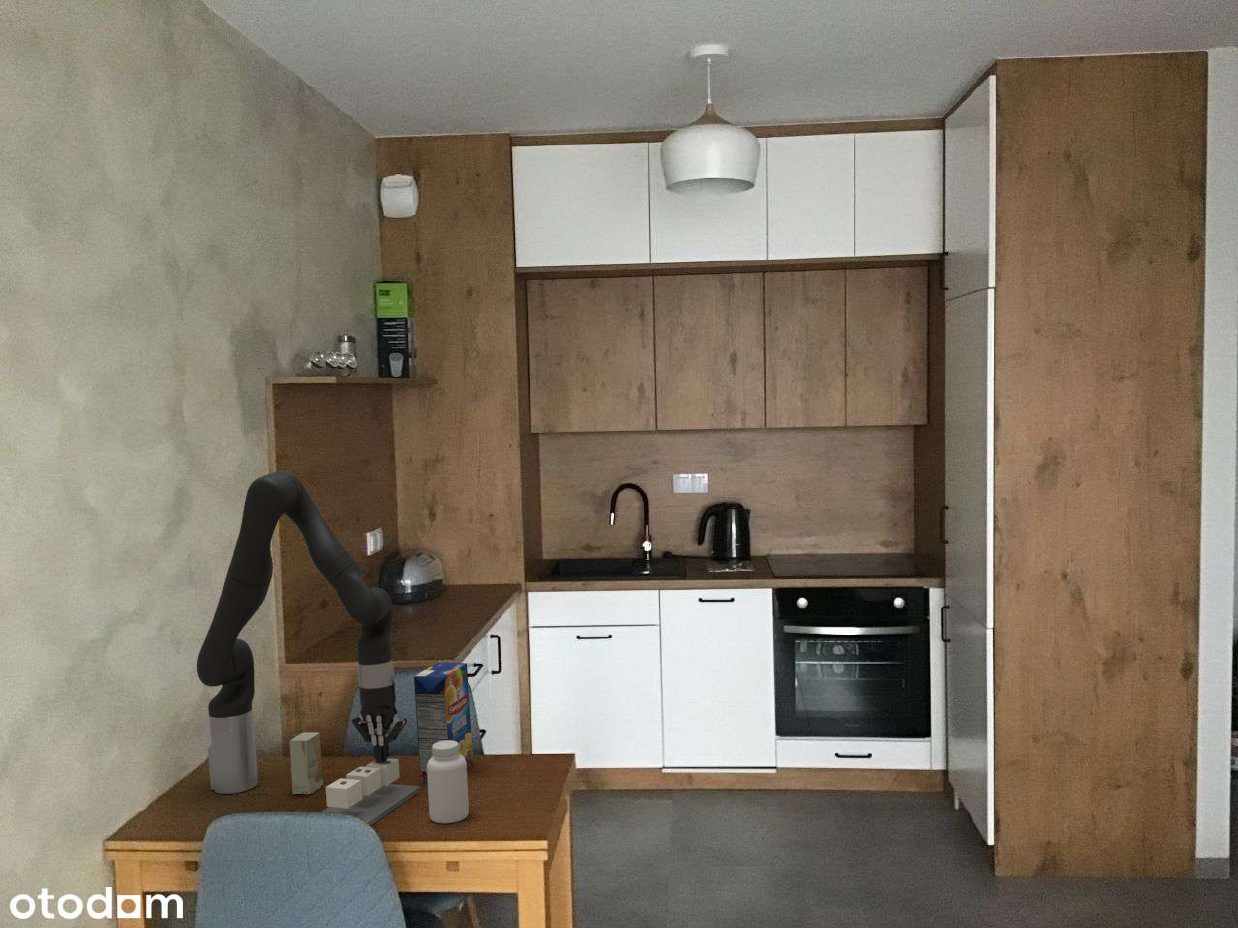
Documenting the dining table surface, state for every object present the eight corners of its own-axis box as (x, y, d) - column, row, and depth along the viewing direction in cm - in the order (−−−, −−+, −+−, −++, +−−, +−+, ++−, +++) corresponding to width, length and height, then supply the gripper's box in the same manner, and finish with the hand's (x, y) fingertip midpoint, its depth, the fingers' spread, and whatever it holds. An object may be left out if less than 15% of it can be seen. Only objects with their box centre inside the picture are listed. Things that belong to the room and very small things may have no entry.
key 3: (366, 783, 222) (365, 764, 221) (380, 775, 226) (378, 756, 226) (386, 785, 220) (385, 765, 220) (399, 777, 225) (398, 757, 224)
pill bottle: (451, 827, 204) (447, 752, 204) (421, 820, 209) (416, 747, 208) (477, 812, 211) (473, 740, 210) (447, 806, 215) (443, 735, 214)
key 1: (326, 806, 209) (325, 785, 208) (341, 797, 213) (340, 776, 213) (347, 808, 207) (346, 787, 207) (362, 799, 212) (360, 778, 211)
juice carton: (444, 763, 242) (437, 662, 240) (473, 765, 240) (467, 663, 238) (420, 782, 230) (413, 676, 229) (451, 783, 228) (444, 676, 227)
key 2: (347, 793, 215) (346, 773, 215) (361, 784, 220) (360, 764, 220) (367, 795, 213) (366, 775, 213) (381, 786, 218) (380, 766, 218)
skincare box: (310, 795, 225) (306, 740, 225) (291, 795, 226) (288, 740, 226) (324, 784, 232) (320, 731, 231) (306, 784, 233) (302, 731, 232)
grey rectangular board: (307, 825, 209) (306, 821, 209) (369, 786, 229) (368, 781, 229) (361, 831, 204) (361, 826, 204) (420, 790, 225) (419, 786, 225)
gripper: (340, 685, 221) (345, 765, 222) (393, 688, 216) (399, 769, 217) (360, 676, 228) (366, 753, 229) (412, 678, 223) (418, 757, 224)
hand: (382, 761), depth 223 cm, fingers closed
